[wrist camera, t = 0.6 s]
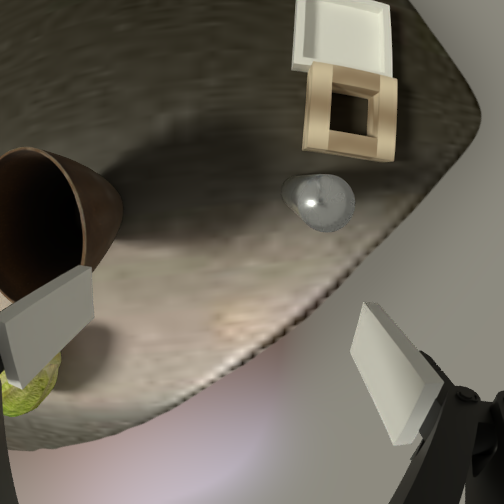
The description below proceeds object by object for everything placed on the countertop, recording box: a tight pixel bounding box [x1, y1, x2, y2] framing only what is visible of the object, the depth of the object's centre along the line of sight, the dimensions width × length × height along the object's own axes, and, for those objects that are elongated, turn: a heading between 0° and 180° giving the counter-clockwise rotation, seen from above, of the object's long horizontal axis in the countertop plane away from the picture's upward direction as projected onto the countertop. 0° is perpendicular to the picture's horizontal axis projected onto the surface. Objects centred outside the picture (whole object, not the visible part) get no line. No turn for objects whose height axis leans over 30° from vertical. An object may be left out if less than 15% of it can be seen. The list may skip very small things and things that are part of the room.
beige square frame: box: [302, 61, 397, 162], centre depth 32 cm, size 10×10×4 cm
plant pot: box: [0, 147, 123, 303], centre depth 30 cm, size 15×15×16 cm
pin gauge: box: [281, 174, 355, 232], centre depth 29 cm, size 4×4×16 cm
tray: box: [291, 0, 392, 78], centre depth 31 cm, size 12×12×2 cm
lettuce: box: [0, 352, 61, 417], centre depth 36 cm, size 13×22×14 cm, turn 119°
